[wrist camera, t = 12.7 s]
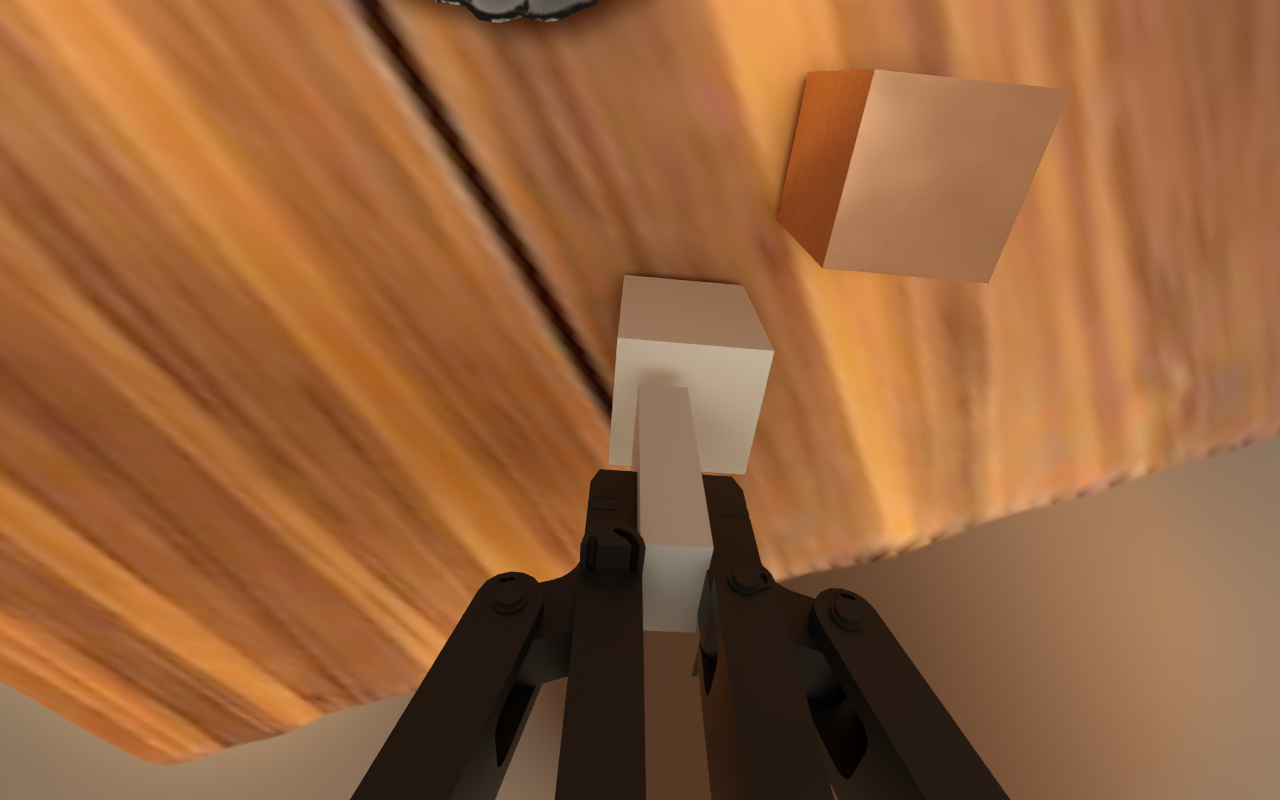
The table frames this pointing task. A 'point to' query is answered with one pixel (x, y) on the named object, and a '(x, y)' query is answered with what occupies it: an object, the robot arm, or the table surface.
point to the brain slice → (522, 8)
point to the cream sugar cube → (692, 364)
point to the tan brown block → (913, 170)
